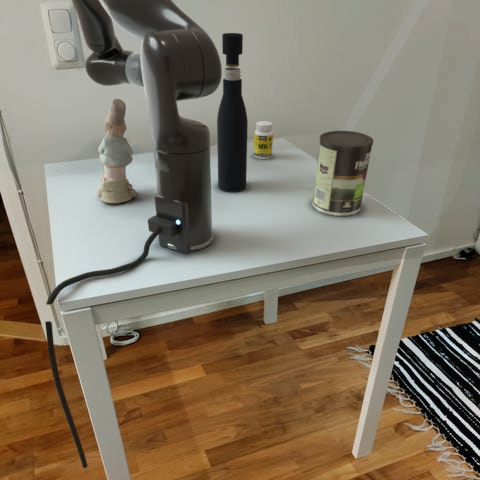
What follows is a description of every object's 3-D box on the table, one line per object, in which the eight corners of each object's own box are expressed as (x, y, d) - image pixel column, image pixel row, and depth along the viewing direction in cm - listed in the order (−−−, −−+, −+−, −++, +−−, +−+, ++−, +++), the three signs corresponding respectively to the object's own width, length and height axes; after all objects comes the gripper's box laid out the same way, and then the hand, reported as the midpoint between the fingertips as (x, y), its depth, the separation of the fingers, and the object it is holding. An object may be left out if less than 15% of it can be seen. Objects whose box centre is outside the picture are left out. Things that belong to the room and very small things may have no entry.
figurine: (140, 203, 99) (127, 102, 87) (99, 207, 98) (80, 104, 85) (136, 187, 106) (124, 91, 94) (98, 190, 104) (81, 93, 92)
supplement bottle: (256, 160, 121) (257, 126, 116) (251, 154, 125) (252, 121, 120) (274, 158, 123) (276, 125, 117) (268, 152, 126) (270, 120, 121)
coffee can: (368, 203, 101) (381, 136, 92) (349, 221, 94) (361, 149, 85) (324, 192, 105) (333, 127, 97) (303, 208, 98) (310, 139, 90)
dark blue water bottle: (251, 188, 107) (256, 35, 88) (228, 194, 104) (227, 37, 85) (236, 179, 111) (237, 31, 92) (212, 185, 108) (209, 33, 89)
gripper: (122, 57, 101) (173, 66, 93) (171, 49, 110) (221, 58, 102) (126, 94, 106) (175, 107, 98) (173, 84, 115) (222, 95, 106)
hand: (199, 82), depth 100 cm, fingers open, 8 cm apart
